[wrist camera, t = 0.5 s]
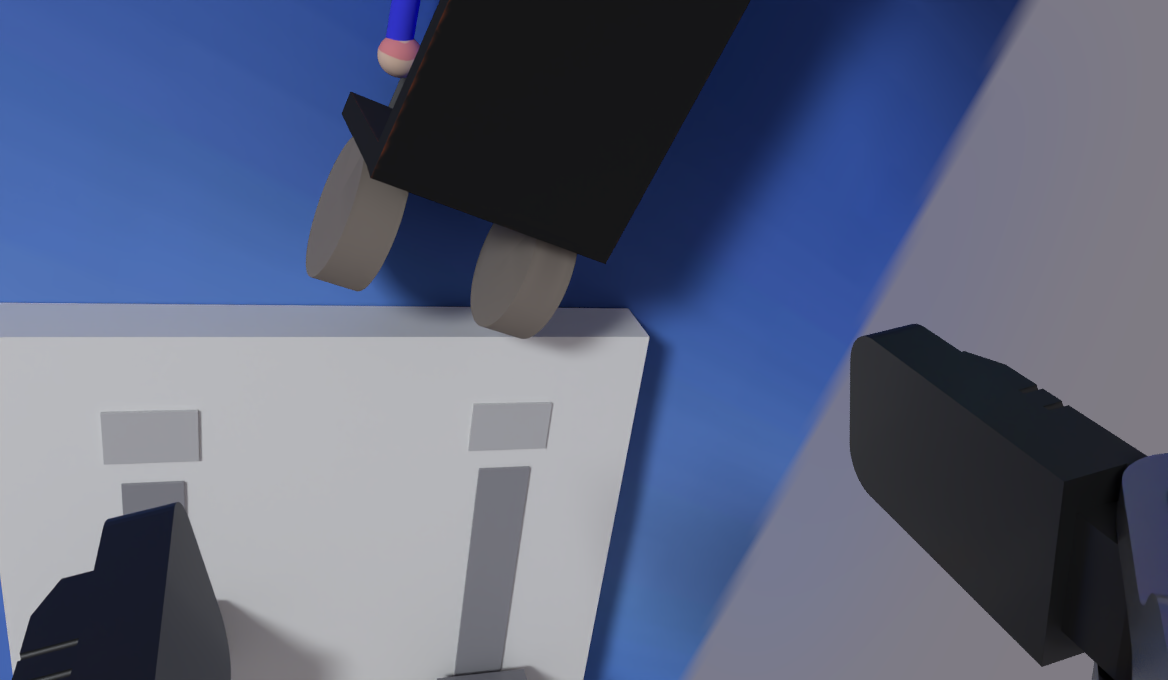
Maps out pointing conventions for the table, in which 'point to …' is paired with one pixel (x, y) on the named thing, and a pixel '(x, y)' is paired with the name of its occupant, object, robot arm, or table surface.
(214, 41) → the table surface
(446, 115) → the black toy car
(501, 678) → the on handle
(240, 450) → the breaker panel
